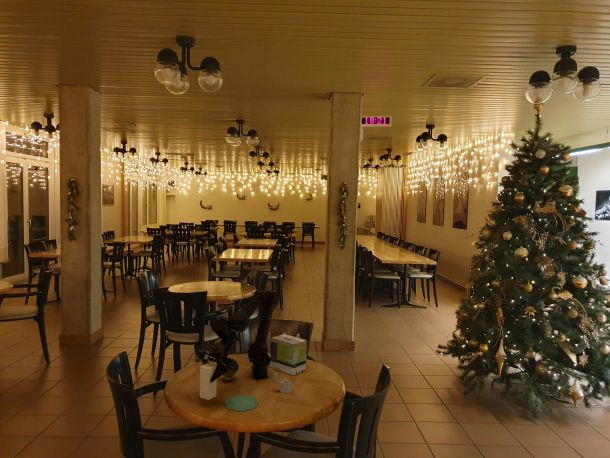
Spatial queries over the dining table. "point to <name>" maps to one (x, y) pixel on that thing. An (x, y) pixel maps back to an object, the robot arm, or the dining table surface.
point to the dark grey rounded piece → (229, 375)
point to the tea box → (288, 354)
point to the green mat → (241, 403)
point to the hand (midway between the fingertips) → (205, 380)
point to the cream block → (207, 381)
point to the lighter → (283, 384)
